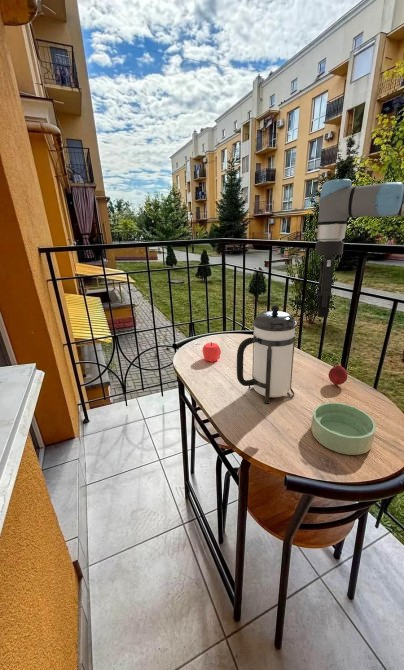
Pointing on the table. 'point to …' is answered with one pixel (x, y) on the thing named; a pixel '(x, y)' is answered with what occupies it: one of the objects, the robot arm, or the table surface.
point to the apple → (211, 352)
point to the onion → (338, 375)
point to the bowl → (343, 428)
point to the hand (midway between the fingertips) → (321, 310)
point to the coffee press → (270, 354)
